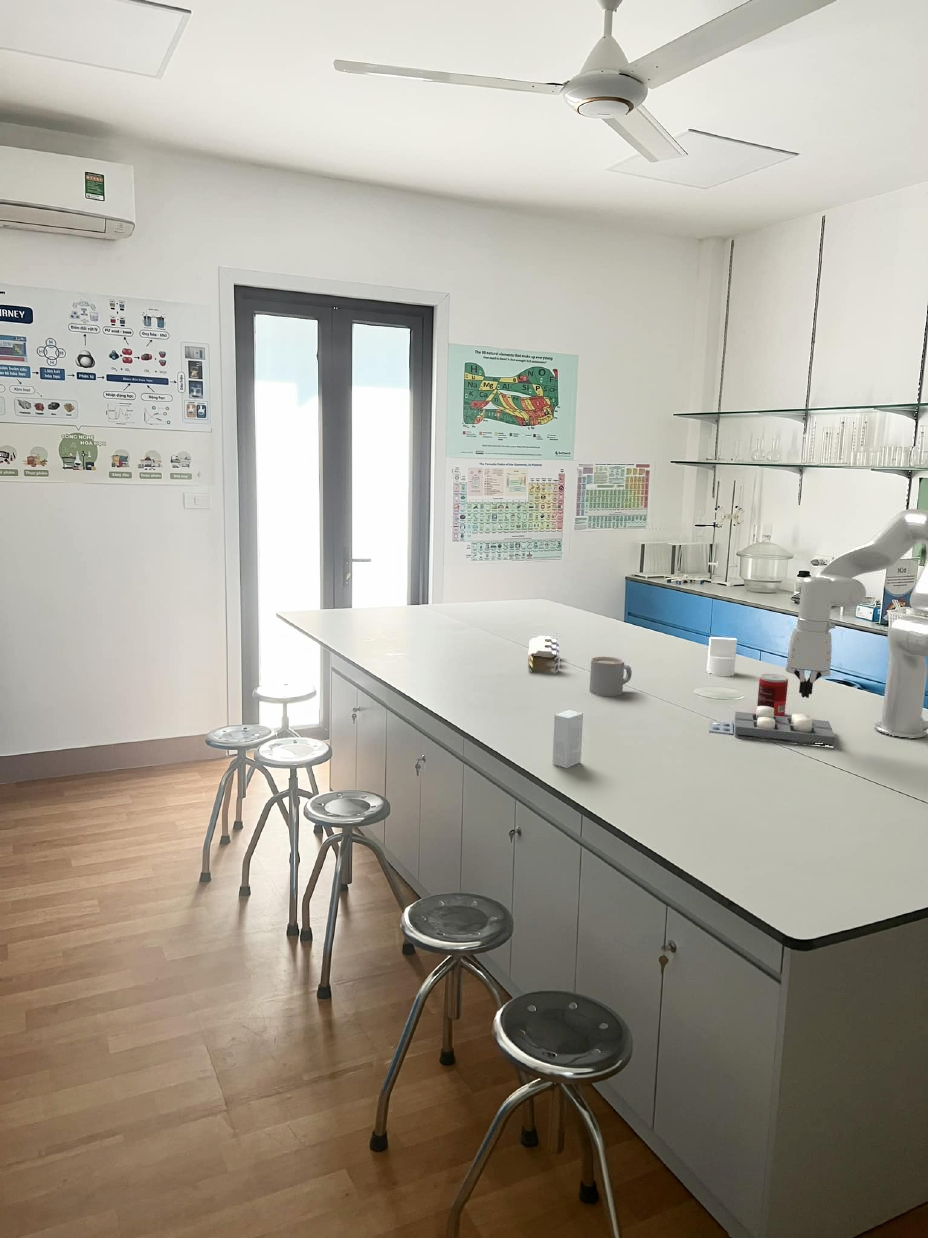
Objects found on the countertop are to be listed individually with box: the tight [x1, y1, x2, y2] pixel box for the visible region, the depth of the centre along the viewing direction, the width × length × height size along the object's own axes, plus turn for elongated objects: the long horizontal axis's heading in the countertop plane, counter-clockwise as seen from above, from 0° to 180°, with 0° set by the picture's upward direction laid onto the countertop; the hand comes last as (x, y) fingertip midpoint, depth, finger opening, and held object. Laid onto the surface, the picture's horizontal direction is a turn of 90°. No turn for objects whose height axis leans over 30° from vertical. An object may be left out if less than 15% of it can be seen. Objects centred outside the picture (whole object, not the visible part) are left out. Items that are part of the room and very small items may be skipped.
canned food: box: [756, 673, 789, 716], centre depth 257 cm, size 8×8×11 cm
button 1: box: [755, 706, 774, 719], centre depth 242 cm, size 4×4×3 cm
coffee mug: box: [589, 656, 633, 697], centre depth 276 cm, size 13×10×10 cm
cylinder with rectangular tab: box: [706, 636, 738, 676], centre depth 306 cm, size 9×9×12 cm
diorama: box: [527, 633, 561, 674], centre depth 309 cm, size 25×10×13 cm, turn 175°
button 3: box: [791, 713, 811, 724], centre depth 240 cm, size 4×4×3 cm
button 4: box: [793, 717, 814, 733], centre depth 233 cm, size 4×4×3 cm
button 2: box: [757, 717, 775, 729], centre depth 236 cm, size 4×4×3 cm
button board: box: [708, 711, 836, 746], centre depth 239 cm, size 30×15×3 cm, turn 74°
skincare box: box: [552, 709, 584, 769], centre depth 209 cm, size 6×4×12 cm
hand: (804, 696), depth 232 cm, fingers closed
